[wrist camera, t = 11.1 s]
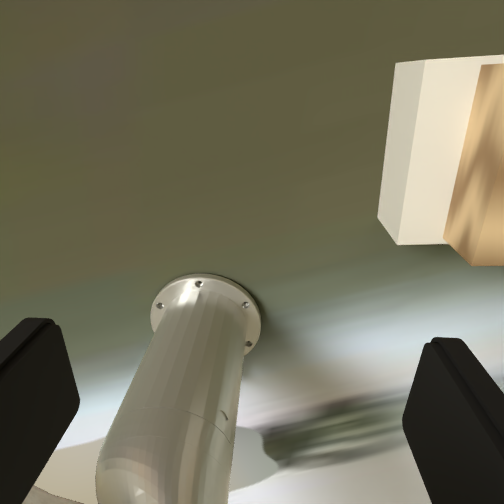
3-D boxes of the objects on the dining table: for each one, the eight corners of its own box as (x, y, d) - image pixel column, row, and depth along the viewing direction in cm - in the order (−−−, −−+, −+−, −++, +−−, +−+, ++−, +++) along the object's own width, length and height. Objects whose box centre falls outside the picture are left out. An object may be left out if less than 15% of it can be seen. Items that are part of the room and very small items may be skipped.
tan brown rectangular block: (481, 217, 30) (550, 265, 23) (423, 218, 30) (471, 265, 23) (524, 62, 25) (634, 55, 17) (452, 66, 25) (528, 62, 17)
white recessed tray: (509, 213, 32) (556, 241, 26) (377, 217, 33) (397, 245, 27) (558, 52, 26) (631, 46, 21) (395, 63, 27) (425, 59, 22)
